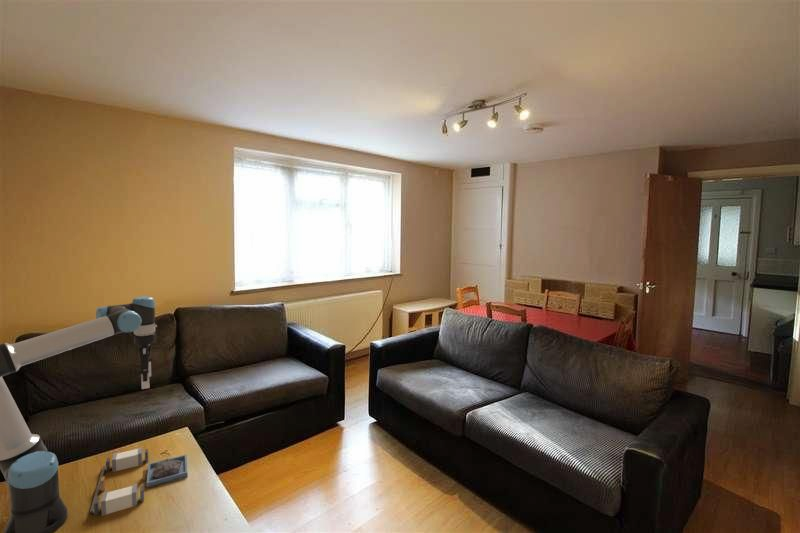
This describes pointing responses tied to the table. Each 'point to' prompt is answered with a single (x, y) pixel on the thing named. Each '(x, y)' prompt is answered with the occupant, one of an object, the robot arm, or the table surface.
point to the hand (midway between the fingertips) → (146, 382)
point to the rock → (166, 468)
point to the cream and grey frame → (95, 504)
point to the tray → (157, 481)
